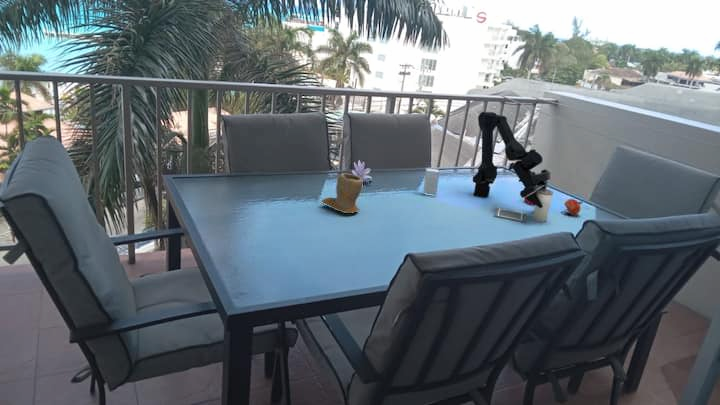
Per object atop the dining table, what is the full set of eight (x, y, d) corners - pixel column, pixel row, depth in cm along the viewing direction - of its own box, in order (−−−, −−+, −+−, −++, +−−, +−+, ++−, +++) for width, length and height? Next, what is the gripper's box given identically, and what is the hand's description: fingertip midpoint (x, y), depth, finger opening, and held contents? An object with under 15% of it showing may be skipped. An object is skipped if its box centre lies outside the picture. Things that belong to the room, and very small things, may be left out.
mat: (493, 216, 204) (493, 215, 203) (495, 208, 214) (495, 207, 213) (525, 222, 200) (525, 221, 200) (526, 214, 210) (526, 213, 209)
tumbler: (531, 220, 203) (538, 191, 199) (532, 216, 208) (538, 187, 204) (546, 223, 201) (553, 194, 197) (546, 218, 207) (553, 190, 202)
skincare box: (435, 194, 227) (439, 169, 223) (436, 196, 223) (439, 172, 219) (422, 192, 227) (426, 168, 223) (423, 195, 223) (426, 170, 219)
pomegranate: (564, 220, 213) (586, 211, 209) (556, 206, 213) (578, 196, 209) (564, 217, 220) (586, 208, 215) (556, 203, 220) (578, 194, 216)
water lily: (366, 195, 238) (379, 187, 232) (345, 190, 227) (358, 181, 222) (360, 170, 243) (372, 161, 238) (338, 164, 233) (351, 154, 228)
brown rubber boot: (366, 212, 195) (369, 177, 190) (345, 218, 187) (348, 181, 182) (340, 201, 205) (343, 167, 200) (319, 206, 197) (321, 171, 192)
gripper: (533, 167, 192) (555, 200, 190) (547, 160, 207) (568, 191, 204) (510, 181, 199) (531, 213, 197) (525, 173, 214) (545, 203, 211)
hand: (545, 205), depth 202 cm, fingers open, 9 cm apart
